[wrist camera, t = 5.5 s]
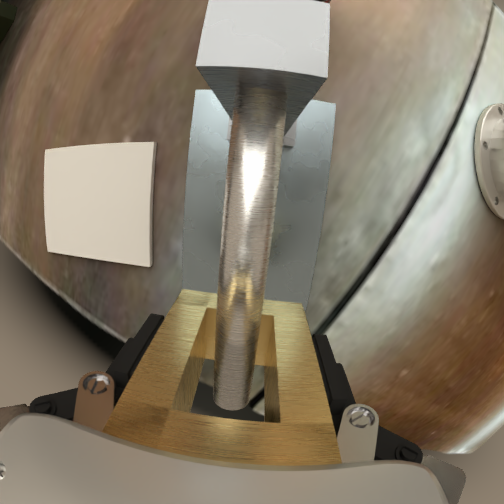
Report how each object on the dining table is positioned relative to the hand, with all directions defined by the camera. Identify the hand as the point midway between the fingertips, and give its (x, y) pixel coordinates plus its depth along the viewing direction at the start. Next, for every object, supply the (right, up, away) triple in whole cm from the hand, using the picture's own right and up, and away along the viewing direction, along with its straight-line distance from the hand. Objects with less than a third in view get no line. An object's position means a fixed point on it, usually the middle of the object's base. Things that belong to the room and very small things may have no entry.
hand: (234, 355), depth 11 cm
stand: (+1, +8, +9) cm, 12 cm away
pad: (-13, +9, +9) cm, 18 cm away
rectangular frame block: (0, +1, +3) cm, 3 cm away
